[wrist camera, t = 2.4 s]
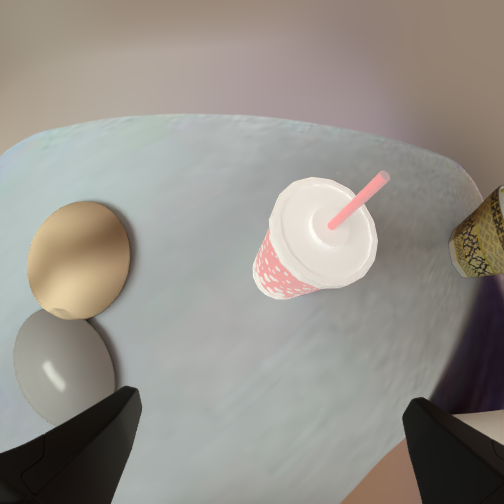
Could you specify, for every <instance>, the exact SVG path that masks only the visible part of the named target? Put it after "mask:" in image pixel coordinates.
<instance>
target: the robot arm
mask: <svg viewBox="0 0 504 504" xmlns="http://www.w3.org/2000/svg"><path fill="white" fill-rule="evenodd" d="M141 412H142V403H141V399H140V394H139V391H138V389H137V388H134V387H130V386H124V387H122V388H120V389H119V390H117V391H116V392H114V393H112V394H111V395H109V396H108V397H106V398H104V399H103V400H101V401H99V402H98V403H96V404H94V405H93V406H91V407H89V408H88V409H86V410H84V411H83V412H81V413H79V414H78V415H76V416H74V417H73V418H71V419H69V420H67V421H66V422H64V423H62V424H60V425H59V426H57V427H55V428H53V429H52V430H50V431H48V432H46V433H45V434H43V435H41V436H39V437H37V438H35V439H33V440H31V441H29V442H27V443H25V444H23V445H21V446H18V447H16V448H13V449H11V450H8V451H5V452H2V453H0V504H111V502H112V499H113V496H114V494H115V491H116V488H117V486H118V483H119V480H120V478H121V475H122V473H123V470H124V468H125V465H126V463H127V460H128V458H129V455H130V452H131V450H132V446H133V443H134V439H135V435H136V431H137V427H138V423H139V420H140V416H141ZM402 420H403V425H404V430H405V435H406V440H407V445H408V451H409V455H410V459H411V462H412V465H413V469H414V473H415V476H416V480H417V484H418V487H419V491H420V495H421V499H422V504H504V445H503V444H501V443H499V442H497V441H495V440H494V439H491V438H490V437H488V436H487V435H485V434H483V433H481V432H480V431H478V430H476V429H475V428H473V427H471V426H470V425H468V424H466V423H464V422H463V421H461V420H459V419H458V418H456V417H455V416H453V415H451V414H450V413H448V412H446V411H445V410H443V409H441V408H440V407H438V406H437V405H435V404H433V403H432V402H430V401H428V400H427V399H425V398H423V397H419V398H414V399H412V400H411V401H410V403H409V405H408V407H407V408H406V410H405V412H404V414H403V417H402Z"/></svg>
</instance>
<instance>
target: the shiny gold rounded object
mask: <svg viewBox="0 0 504 504" xmlns="http://www.w3.org/2000/svg"><path fill="white" fill-rule="evenodd" d="M129 266H130V245H129V240H128V237H127V233H126V231H125V229H124V227H123V225H122V224H121V222H120V221H119V219H118V218H117V216H116V215H115V214H114V213H113V212H112V211H110V210H109V209H108V208H106V207H104V206H102V205H100V204H98V203H93V202H76V203H72V204H69V205H66V206H64V207H62V208H60V209H58V210H57V211H55V212H54V213H53V214H52V215H50V216H49V217H48V218H47V219H46V220H45V221H44V223H43V224H42V225H41V226H40V228H39V229H38V231H37V233H36V235H35V237H34V239H33V241H32V244H31V247H30V250H29V255H28V264H27V271H28V279H29V284H30V287H31V290H32V292H33V295H34V297H35V298H36V300H37V301H38V303H39V304H40V305H41V306H42V307H43V308H44V309H45V310H46V311H47V312H48V313H49V312H51V313H50V314H55V316H56V317H58V316H59V317H60V318H61V319H65V320H73V319H75V320H77V319H78V320H79V318H80V319H89V318H92V317H94V316H96V315H98V314H99V313H101V312H103V311H104V310H105V309H106V308H108V307H109V306H110V305H111V304H112V302H113V301H114V300H115V299H116V297H117V296H118V295H119V293H120V291H121V290H122V288H123V286H124V283H125V281H126V278H127V275H128V272H129ZM55 308H56V309H57V310H58V311H57V310H56V309H55ZM59 308H60V309H59ZM55 310H56V311H55ZM60 310H62V312H63V313H64V315H63V314H62V312H60ZM52 311H53V312H52ZM64 311H65V312H64ZM58 312H59V313H58ZM62 315H63V316H62ZM65 316H66V317H67V318H66V317H65ZM69 316H71V317H69ZM59 317H58V318H59ZM64 317H65V318H64Z"/></svg>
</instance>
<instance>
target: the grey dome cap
mask: <svg viewBox="0 0 504 504" xmlns="http://www.w3.org/2000/svg"><path fill="white" fill-rule="evenodd" d="M55 309H56V308H55ZM59 309H60V308H59ZM56 310H57V309H56ZM56 310H55V311H56ZM57 311H58V310H57ZM52 312H53V311H52ZM60 312H62V310H60ZM64 312H65V311H64ZM50 313H51V312H49V313H48V312H47V311H46V310H45V309H42V310H40V311H37V312H35V313H34V314H32V315H31V316H30V317H29V318H28V319H27V320H26V321H25V322H24V323H23V325H22V326H21V328H20V330H19V332H18V334H17V337H16V341H15V345H14V355H13V360H14V369H15V374H16V378H17V381H18V384H19V387H20V389H21V391H22V393H23V395H24V397H25V398H26V400H27V402H28V403H29V404H30V406H31V407H32V408H33V409H34V410H35V411H36V413H37V414H39V415H40V416H41V417H42V418H43V419H45V420H46V421H47V422H49V423H51V424H53V425H54V426H59V425H60V424H62V423H64V422H66V421H67V420H69V419H71V418H73V417H74V416H76V415H78V414H79V413H81V412H83V411H84V410H86V409H88V408H89V407H91V406H93V405H94V404H96V403H98V402H99V401H101V400H103V399H104V398H106V397H108V396H109V395H111V394H112V393H114V392H115V382H116V380H115V371H114V366H113V362H112V358H111V355H110V353H109V351H108V348H107V346H106V344H105V342H104V341H103V339H102V338H101V336H100V335H99V333H98V332H97V331H96V330H95V328H94V327H93V326H92V325H91V324H90V323H89V322H88V321H86V320H85V319H80V318H79V320H78V319H77V320H75V319H73V320H65V319H61V318H60V317H59V316H58V317H59V318H58V317H56V316H55V314H50ZM58 313H59V312H58ZM62 314H63V315H64V313H63V312H62ZM63 315H62V316H63ZM65 317H66V316H65ZM65 317H64V318H65ZM69 317H71V316H69ZM66 318H67V317H66Z"/></svg>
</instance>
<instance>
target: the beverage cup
mask: <svg viewBox="0 0 504 504" xmlns="http://www.w3.org/2000/svg"><path fill="white" fill-rule="evenodd" d="M389 180H390V175H389V174H388V173H387V172H386V171H384V170H381V171H380V172H379V173H378V174H377V175H376V176H375V177H374V178H373V179H372V180H371V181H370V182H369V183H368V184H367V185H366V186H365V187H364V188H363V189H362V190H361V191H360V192H359V193H358V194H357V195H355V194H354V193H353V192H352V191H351V190H350V189H349V188H347V187H345V186H343V185H341V184H339V183H337V182H335V181H333V180H330V179H323V178H316V177H310V178H306V179H302V180H299V181H295V182H293V183H292V184H291V185H290V186H288V187H287V188H286V189H285V190H284V191H283V192H282V193H281V194H280V195H279V196H278V199H277V201H276V203H275V206H274V209H273V211H272V214H271V216H270V219H269V226H270V227H269V230H268V232H267V234H266V236H265V238H264V241H263V243H262V245H261V247H260V249H259V252H258V254H257V256H256V259H255V261H254V264H253V277H254V280H255V282H256V284H257V286H258V288H259V289H260V290H261V291H262V292H263V293H264V294H266V295H267V296H269V297H272V298H274V299H290V298H294V297H297V296H300V295H304V294H307V293H310V292H313V291H317V290H320V289H325V288H341V287H345V286H347V285H349V284H351V283H353V282H355V281H356V280H358V279H360V278H362V277H363V276H365V274H366V273H367V271H368V270H369V268H370V267H371V265H372V264H373V262H374V261H375V256H376V250H377V244H378V239H377V234H376V229H375V224H374V220H373V219H372V217H371V215H370V213H369V211H368V210H367V208H366V206H365V204H364V203H365V202H366V201H367V200H369V199H370V198H371V197H372V196H373V195H374V194H375V193H376V192H377V191H378V190H380V189H381V188H382V187H383V186H384V185H385V184H386V183H387V182H388V181H389Z"/></svg>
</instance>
